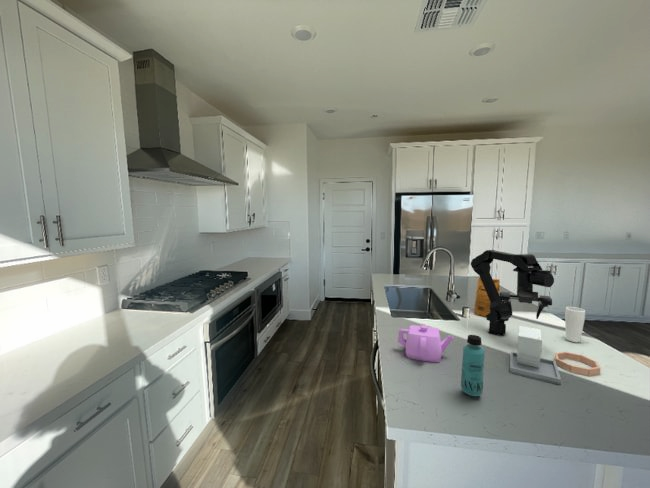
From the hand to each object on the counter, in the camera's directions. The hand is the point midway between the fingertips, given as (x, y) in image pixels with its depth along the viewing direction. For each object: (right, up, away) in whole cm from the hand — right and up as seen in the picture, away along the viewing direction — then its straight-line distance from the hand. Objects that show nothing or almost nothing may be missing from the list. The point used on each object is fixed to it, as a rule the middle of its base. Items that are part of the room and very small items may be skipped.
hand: (524, 317), depth 126 cm
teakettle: (-46, -14, -5) cm, 49 cm away
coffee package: (+5, -9, +38) cm, 40 cm away
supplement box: (-9, -13, -14) cm, 21 cm away
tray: (-10, -15, -19) cm, 26 cm away
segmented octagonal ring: (+8, -15, -17) cm, 24 cm away
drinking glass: (+26, -12, +5) cm, 29 cm away
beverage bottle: (-41, -17, -33) cm, 55 cm away
